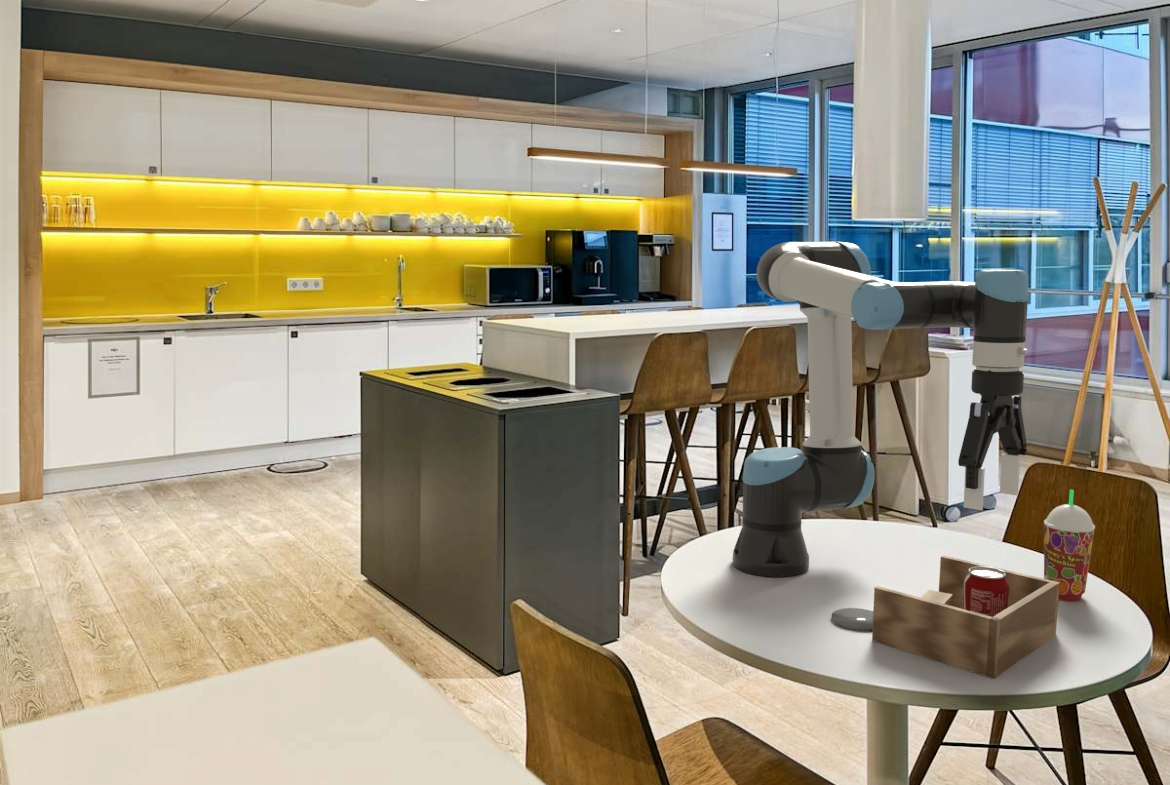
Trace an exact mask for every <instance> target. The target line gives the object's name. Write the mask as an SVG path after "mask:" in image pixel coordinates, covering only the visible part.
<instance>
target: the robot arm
mask: <svg viewBox="0 0 1170 785" xmlns="http://www.w3.org/2000/svg"><path fill="white" fill-rule="evenodd" d="M870 265H871V264H870V261H869V259H868V257H867V255H866V254H865V252H864V251H863V250H862V249H861V248H860V247H859V246H858V245H857V244H854V243H853V242H852V243H851V242H844V241H837V240H836V241H835V240H833V241H786V242H785V241H784V242H781V243H779V244H776V245H774V246H772V247H770V248H769V249H768V250H767V251H765V252H764V253H763V255H762V256H761V258H760V259H759V261H758V264H757V266H756V278H757V279H756V281H757V284H758V285H759V287H760V288H761V291H763V292H764V294H765V295H767V296H769V297H770V298H771V299H775V300H779V301H782V302H784V303H785V302H786V303H794V302H797V301H799V311H800V312H801V313H802V314H803V315H804V316H805V317H806V319H807V348H808V349H807V350H808V351H807V352H808V353H807V354H808V355H807V356H808V359H807V360H808V394H809V395H808V396H809V400H808V401H809V436H807V438H806V439H805V440H804V441H803V442H802V450H801V449H799V448H797V447H791V446H782V447H778V446H777V447H776V446H774V447H766V448H762V449H760V450H755V451H753V452H752V453H750V454H749V455H748V456H747V457H746V458H745V460H744V464H743V473H742V477H741V479H742V522H741V523H742V525H741V529H740V532H739V534H738V538H737V540H736V543H735V546H734V549H733V550H732V551H733V552H732V565H733V566H734V567H735V568H736V569H737V570H740V572H741V571H742V572H744V573H748V574H751V575H755V576H762V577H773V578H774V577H775V578H782V577H783V578H784V577H794V576H797V575H802V574H803V573H805V572H807V571H808V570H809V568H810V554H809V553H808V549H807V544H806V541H805V538H804V535H803V531H802V516H803V515H802V514H803V513H810V512H819V511H829V510H830V511H831V510H839V511H841V510H842V511H843V510H846V509H848V508H853V507H859V506H860V505H863V504H864V503H865V501H867V500H866V499H868V498H869V497H870V495H871V493H872V490H873V487H874V485H875V484H874V483H875V467H874V466H875V465H874V464H873V462H872V458H871V457H870V455H869V454H868V453H867V452H866V451H864V450H862V442H861V441H860V440H859V439H858V438H857V437H856V436H855V434H854V406H853V405H854V400H853V397H854V396H853V390H854V389H853V388H854V387H853V386H854V385H853V344H852V342H853V341H852V339H853V338H852V337H853V336H852V319H853V320H854V321H855V322H856V323H857V325H858V327H860V328H861V329H864V330H872V331H873V330H875V331H886V330H901V329H903V330H904V329H905V330H906V329H935V328H936V329H941V328H963V329H966V328H967V329H973V331H974V332H973V341H972V342H973V346H972V357H971V358H972V360H971V363H972V365H973V366H974V367H975V368H974V369H973V370H972V371H971V386H970V387H971V391H972V392H973V393H974V394H978V395H980V402H973V401H972V402H971V403H970V404H969V405H970V406H969V416H968V421H967V424H966V429H965V431H964V437H963V441H962V444H961V449H960V452H959V456H958V461H957V462H958V466H959V467H964V491H963V492H964V493H963V508H965V509H970V510H975V511H983V510H984V493H985V476H986V475H985V472H986V471H985V470H986V468H984V467H983V464H984V462H985V460H986V457H987V453H988V450H989V448H990V445H991V442H992V441H993V440H992V439H993V437H994V434H996V433H997V434H998V436H999V439H1000V442H1001V445H1002V447H1003V451H1004V453H1001V458H1000V460H1001V461H1000V463H1001V464H1000V479H999V482H1000V483H999V493H1000V494H1005V495H1011V496H1018V495H1019V487H1020V486H1019V483H1020V466H1021V464H1020V463H1021V456H1026V455H1027V453H1028V449H1027V448H1028V443H1027V439H1026V438H1027V437H1026V431H1025V425H1024V417H1023V412H1022V396H1021V394H1022V393H1023V392H1024V383H1025V382H1024V380H1025V379H1024V378H1025V373H1024V372H1023V370H1020V369H1022V368H1024V366H1025V356H1026V355H1028V352H1029V351H1028V349H1027V348H1026V336H1027V335H1026V334H1027V320H1028V305H1029V304H1028V303H1029V299H1030V295H1029V277H1028V273H1027V272H1026V271H1024V270H1022V269H981V270H978V271H977V273H976V279H975V281H958V280H957V281H956V280H951V279H950V280H940V281H915V282H911V281H910V282H909V281H908V282H906V281H905V282H904V281H903V282H902V281H894V280H893V281H892V280H888V279H884V278H880V277H876V276H872V271H871V266H870Z"/></svg>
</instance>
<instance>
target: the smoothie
mask: <svg viewBox="0 0 1170 785" xmlns="http://www.w3.org/2000/svg"><path fill="white" fill-rule="evenodd" d="M1074 494H1075V491H1074V489H1069V496H1068V497H1069V498H1068V503H1065V504H1061V505H1058V506H1055V508H1053V509H1052V510H1051V511H1050V512H1049V514H1048V515H1047V517H1046V518H1045V519H1044V520H1043V525H1044V527H1043V531H1044V532H1043V534H1044V535H1043V537H1044V538H1043V579H1047V580H1051V581H1055V582H1060V587H1059V600H1058V601H1063V602H1077V601H1079V600H1081V599H1082V596H1083V594H1085V593H1086V588H1087V581H1088V574H1089V568H1090V563H1091V562H1090V561H1091V554H1092V547H1093V542H1094V540H1093V539H1094V535H1095V529H1096V526H1095V524H1094V522H1093V520H1092V518H1091V516H1090V515H1089V513H1088V512H1087V511H1086V510H1085V509H1084V508H1082V507H1080V506H1079V505H1076V504H1074Z"/></svg>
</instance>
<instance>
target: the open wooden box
mask: <svg viewBox="0 0 1170 785" xmlns="http://www.w3.org/2000/svg"><path fill="white" fill-rule="evenodd" d="M977 566H984V567H992V568H996V569H999V570H1002V571H1004V572H1005V574H1006V576H1005V578H1006V580H1007V582H1008V583H1009V598H1008V608H1006V609H1005V610H1003V611H1002V612H1000V613H998V614H997V615H995V616H993V617H990V616H987V615H983V614H979V613H976V612H972V611H968V610H964V609H962V604H963V588H964V579H965V577H966V576H967V575H968V574H969V569H970V568H972V567H977ZM1059 587H1060V582H1055V581H1051V580H1047V579H1044V578H1042V577H1037V576H1033V575H1029V574H1025V573H1021V572H1020V573H1019V572H1016V571H1011V570H1007V569H1003V568H999V567H995V566H990V565H986V564H981V563H978V562H977V563H976V562H974V561H968V560H966V559H965V560H964V559H960V558H957V557H956V558H955V557H953V556H948V555H941V556H940V563H939V584H938V592H943V593H949V594H953V602H952V606H950V605H946V604H942V603H938V602H935V601H931V600H927V599H924V598H921V597H919V596H916V595H913V594H908V593H905V592H901V591H898V590H894V589H890V588H886V587H882V586H878V585H877V586H875V587H873V589H874V593H873V610H872V611H873V631H871V632H872V635H871V636H872V637H871V638H872V639H871V641H872V642H876V643H879V644H880V645H881V644H882V645H885V646H887V647H888V646H889V647H892V648H894V649H897V650H900V651H903V652H908V653H910V654H914V655H917V656H920V657H924V658H926V659H930V660H933V661H936V662H939V663H942V664H945V665H949V666H953V667H955V668H959V669H962V670H965V671H968V672H971V673H974V674H978V675H981V676H983V677H988V678H991V679H996V678H997V677H999V676H1000V675H1001V674H1003V673H1004V672H1006V671H1007V670H1008V669H1009V668H1011V667H1013V666H1014V665H1015V664H1017V663H1018V662H1020V661H1021V660H1022V659H1024V658H1026V657H1027V656H1028V655H1030V654H1031V653H1032V652H1034V651H1035V650H1037V649H1038V648H1040V647H1041V646H1042V645H1043V644H1045V643H1047V642H1048V641H1049V640H1051V639H1052V638H1053V637H1056V636H1057V624H1058V611H1059V601H1060V600H1059Z"/></svg>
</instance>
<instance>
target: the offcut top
mask: <svg viewBox="0 0 1170 785" xmlns="http://www.w3.org/2000/svg"><path fill="white" fill-rule="evenodd" d="M920 598H924V599H927V600H931V601H935V602H938V603H942V604H946V605H950V606H952V602H953V594H949V593H943V592H939V590H938V591H937V590H934V589H933V590H932V589H928V590H927V591H926V592H924V594H923V595H922V596H921V597H920Z"/></svg>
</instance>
